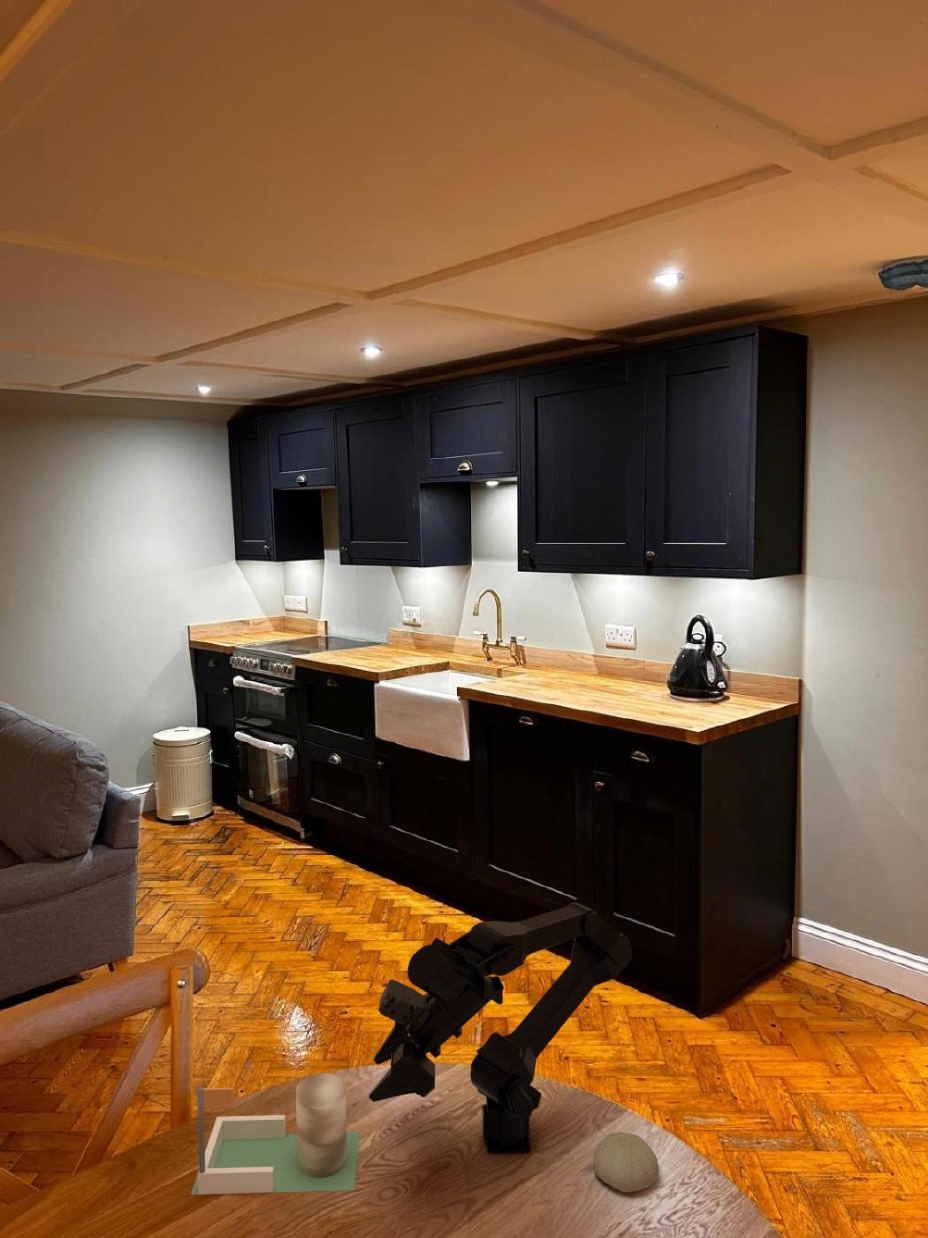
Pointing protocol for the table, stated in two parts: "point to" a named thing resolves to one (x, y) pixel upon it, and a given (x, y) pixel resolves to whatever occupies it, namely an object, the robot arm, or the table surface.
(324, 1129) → the birch cylinder
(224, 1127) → the white frame
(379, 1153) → the table surface
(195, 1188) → the putting mat
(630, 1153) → the sea urchin shell
